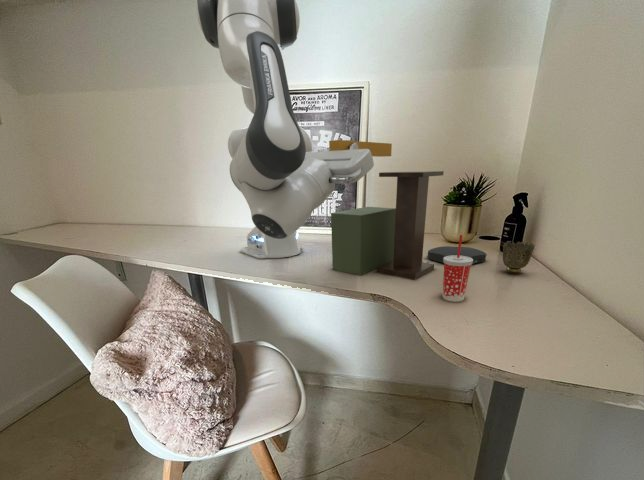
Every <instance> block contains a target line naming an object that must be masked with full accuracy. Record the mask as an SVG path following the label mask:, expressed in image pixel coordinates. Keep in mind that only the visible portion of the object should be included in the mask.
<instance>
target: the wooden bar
mask: <svg viewBox="0 0 644 480" xmlns="http://www.w3.org/2000/svg"><path fill="white" fill-rule="evenodd" d="M350 143H357V145H358V149H369V150H370V152H371V154H372V157H375V158H376V157H378V158H379V157H381V158H382V157H385V158H386V157H392V148H393V146H392V145H393V143H390V142H389V143H388V142H373V141H360V140H347V139H335V140H333V139H332V140H329V141H328V147H329V148H328V149H329V151H336V150H349V149H348V145H350Z"/></svg>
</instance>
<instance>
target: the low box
mask: <svg viewBox="0 0 644 480" xmlns="http://www.w3.org/2000/svg"><path fill="white" fill-rule="evenodd" d="M395 216H396V207H381V206H380V207H379V206H365V207H358V208H352V209H347V210H340V211H335V212H334V211H333V212H331V213H330V217H331V218H330V220H331V221H330V222H331V223H330V224H331V227H330V228H331V255H332V256H331V258H332V261H331V262H332V270H333V271H339V272H343V273H348V274H351V275H352V274H353V275H357V276H363V275H364V274H367V273H369V272H371V271H374V270H377V267H378V266H381V265H383V264H385V263H388V262H390V261H393V258H394V237H395Z"/></svg>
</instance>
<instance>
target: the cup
mask: <svg viewBox="0 0 644 480" xmlns="http://www.w3.org/2000/svg"><path fill="white" fill-rule="evenodd" d="M535 247H536V246H535V244H533V243H532V242H531V243H528V242H525V243H524V242H523V241H521V242H520V241H519V240H518V241H517V242H516V243H515V242H514V241H512V242H510V241H508V240H507V241H506V242H503V244H502V263H503V264H504V266H506V273H509V274H511V275H518V274H521V272H522V269H523V268H525V267H526V266H528V264H529V262H530V260H531V258H532V255H533V253H534V250H535Z"/></svg>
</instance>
